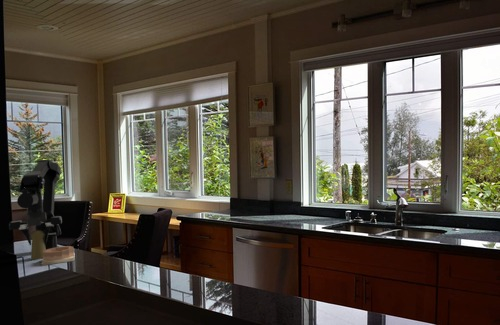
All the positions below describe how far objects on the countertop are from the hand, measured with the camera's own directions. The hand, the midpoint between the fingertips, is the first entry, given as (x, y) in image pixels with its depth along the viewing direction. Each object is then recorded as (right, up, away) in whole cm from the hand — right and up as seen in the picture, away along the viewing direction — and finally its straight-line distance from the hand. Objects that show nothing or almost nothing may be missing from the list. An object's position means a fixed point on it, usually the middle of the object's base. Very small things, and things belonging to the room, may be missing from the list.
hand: (38, 244), depth 172 cm
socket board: (+12, -5, -7) cm, 15 cm away
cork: (0, -6, 0) cm, 6 cm away
